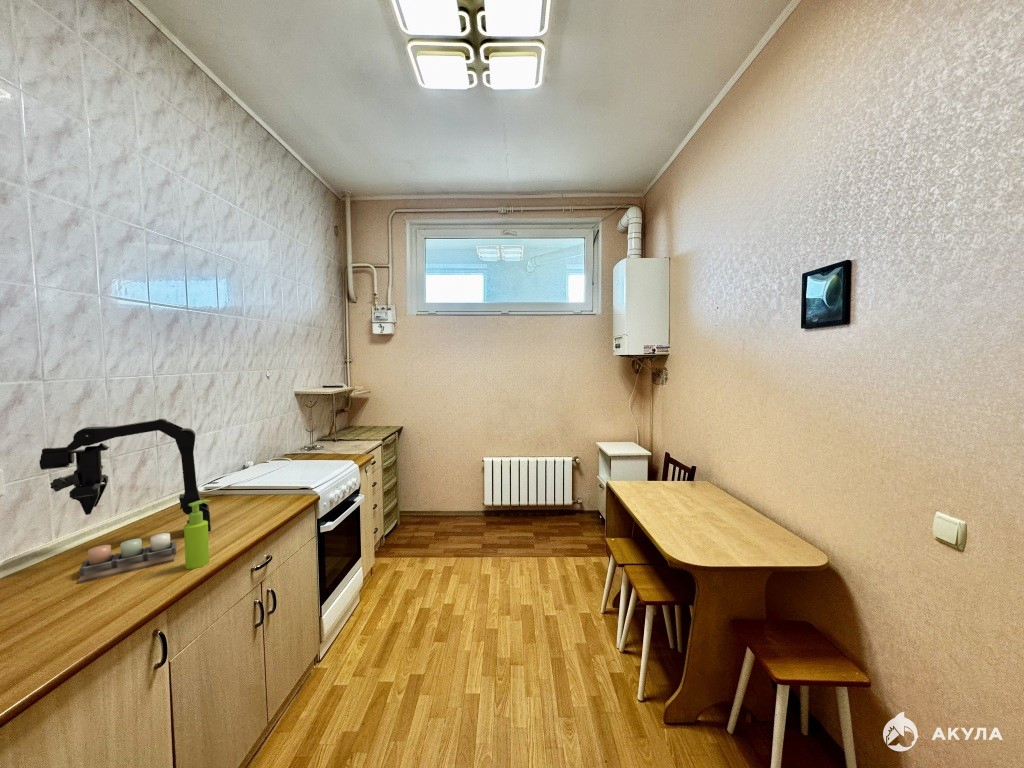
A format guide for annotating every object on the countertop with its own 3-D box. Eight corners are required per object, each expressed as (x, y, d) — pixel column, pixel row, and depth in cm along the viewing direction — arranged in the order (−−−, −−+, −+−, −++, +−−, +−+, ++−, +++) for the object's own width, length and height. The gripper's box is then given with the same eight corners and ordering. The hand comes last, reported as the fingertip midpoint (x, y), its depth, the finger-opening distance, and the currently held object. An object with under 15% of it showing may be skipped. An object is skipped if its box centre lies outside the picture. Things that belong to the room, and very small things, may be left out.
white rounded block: (170, 543, 132) (170, 531, 132) (169, 548, 129) (169, 536, 129) (151, 547, 129) (151, 535, 129) (150, 552, 126) (149, 540, 126)
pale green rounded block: (142, 549, 128) (142, 537, 128) (140, 554, 124) (140, 542, 124) (122, 553, 125) (121, 541, 125) (119, 559, 121) (119, 546, 121)
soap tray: (177, 545, 137) (177, 537, 137) (175, 561, 126) (174, 551, 126) (88, 565, 124) (87, 555, 124) (76, 584, 113) (76, 573, 113)
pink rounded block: (112, 555, 124) (112, 543, 124) (109, 561, 120) (109, 548, 120) (90, 560, 121) (90, 547, 121) (87, 566, 117) (86, 553, 117)
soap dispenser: (217, 559, 127) (214, 499, 126) (193, 570, 120) (191, 506, 119) (204, 557, 129) (202, 497, 128) (181, 567, 122) (178, 504, 121)
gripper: (61, 463, 133) (63, 508, 134) (43, 474, 118) (46, 525, 119) (107, 458, 140) (109, 501, 140) (96, 468, 125) (98, 516, 126)
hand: (91, 510), depth 131 cm, fingers open, 9 cm apart
